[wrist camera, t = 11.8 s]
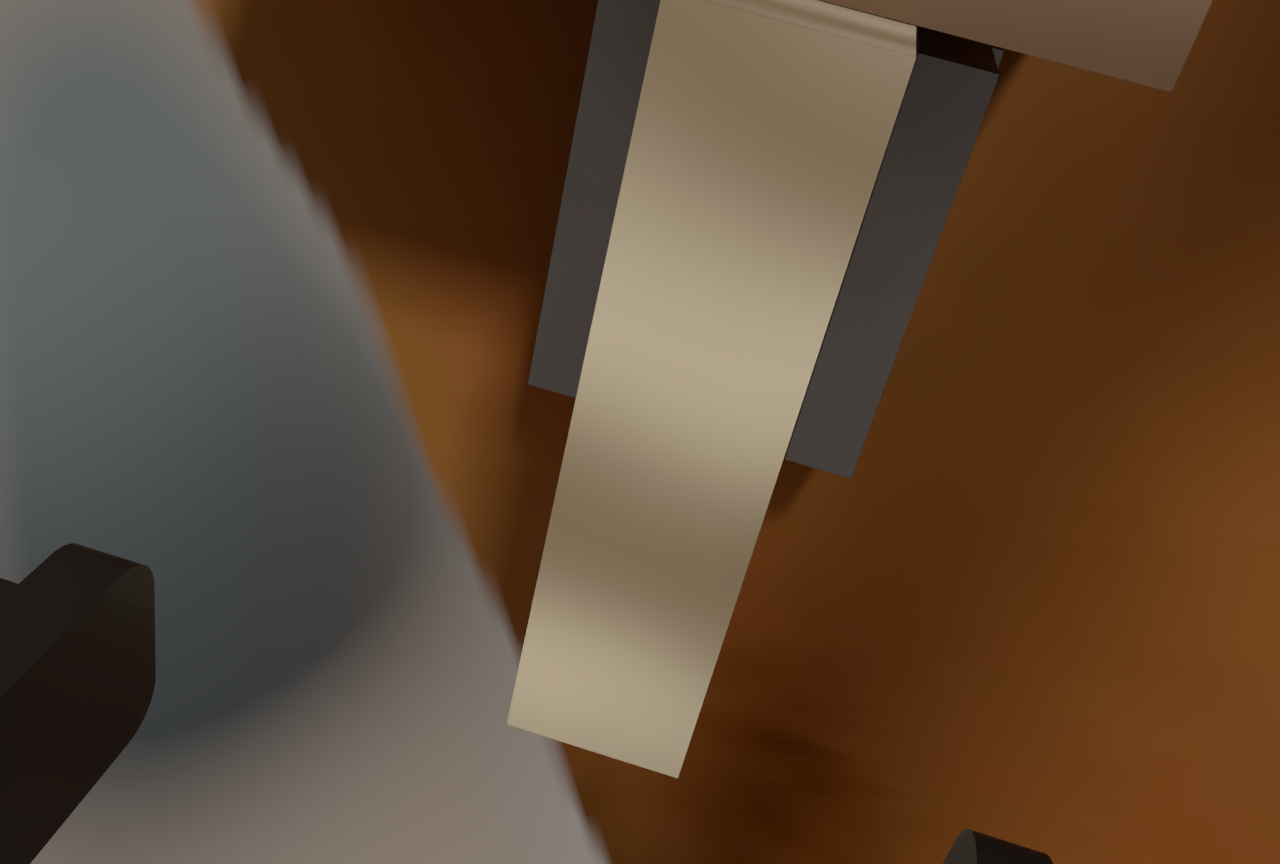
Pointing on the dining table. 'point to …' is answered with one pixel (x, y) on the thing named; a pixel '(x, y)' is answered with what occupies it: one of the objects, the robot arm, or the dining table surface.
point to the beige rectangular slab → (701, 355)
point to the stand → (881, 258)
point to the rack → (1067, 30)
